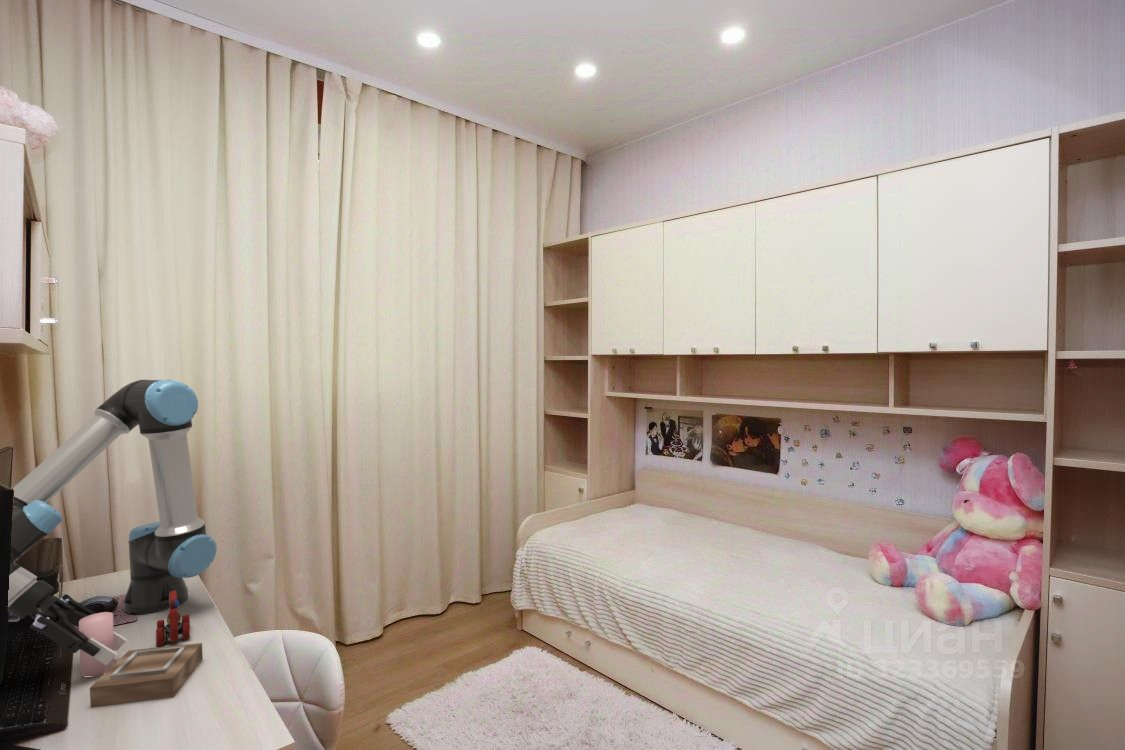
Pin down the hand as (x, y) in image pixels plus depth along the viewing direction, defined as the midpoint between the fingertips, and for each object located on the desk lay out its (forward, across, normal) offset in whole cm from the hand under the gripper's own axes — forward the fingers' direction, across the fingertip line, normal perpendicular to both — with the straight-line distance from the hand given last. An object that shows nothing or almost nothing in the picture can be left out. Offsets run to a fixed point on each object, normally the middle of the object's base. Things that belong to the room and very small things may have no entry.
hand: (117, 652), depth 131 cm
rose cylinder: (0, 0, -5) cm, 5 cm away
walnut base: (+9, +10, +4) cm, 14 cm away
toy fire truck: (+9, -11, +3) cm, 14 cm away
